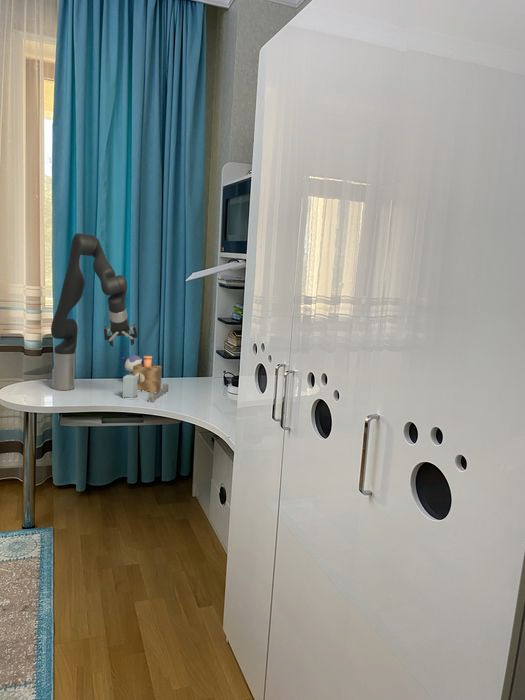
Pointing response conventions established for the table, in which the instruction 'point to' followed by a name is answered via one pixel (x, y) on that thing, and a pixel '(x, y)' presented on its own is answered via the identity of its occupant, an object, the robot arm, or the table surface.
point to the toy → (132, 363)
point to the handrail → (158, 393)
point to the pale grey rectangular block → (130, 386)
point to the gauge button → (147, 361)
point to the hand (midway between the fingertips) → (122, 344)
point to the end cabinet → (148, 377)
